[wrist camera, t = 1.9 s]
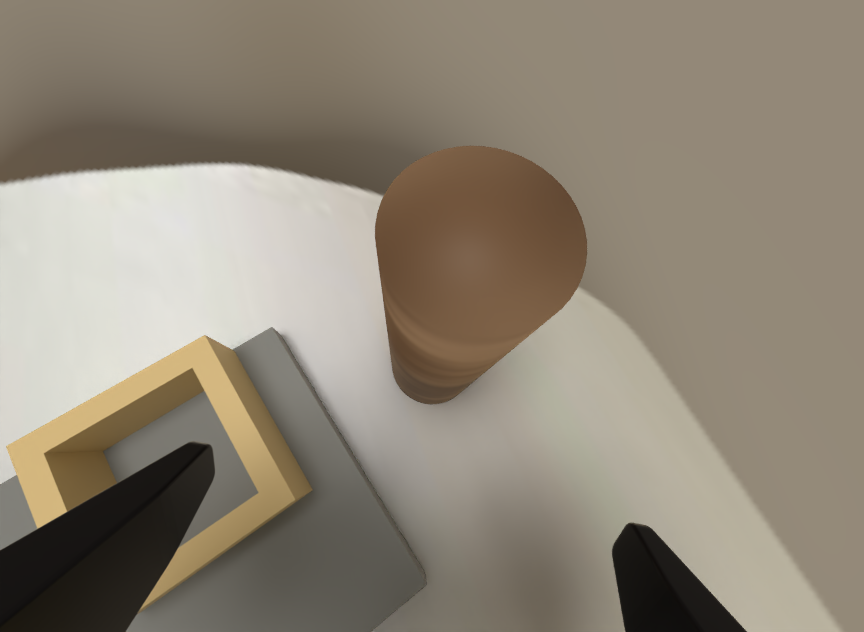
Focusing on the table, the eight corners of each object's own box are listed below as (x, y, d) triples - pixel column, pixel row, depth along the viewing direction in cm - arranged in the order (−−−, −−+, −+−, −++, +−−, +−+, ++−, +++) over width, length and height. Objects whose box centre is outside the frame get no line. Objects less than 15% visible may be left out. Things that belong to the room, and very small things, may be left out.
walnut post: (486, 374, 21) (629, 261, 8) (421, 420, 20) (460, 381, 7) (441, 311, 22) (500, 117, 9) (376, 353, 21) (333, 203, 8)
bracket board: (424, 573, 18) (432, 614, 14) (-49, 968, 13) (-265, 1219, 9) (280, 334, 21) (249, 307, 17) (-148, 586, 16) (-343, 638, 12)
